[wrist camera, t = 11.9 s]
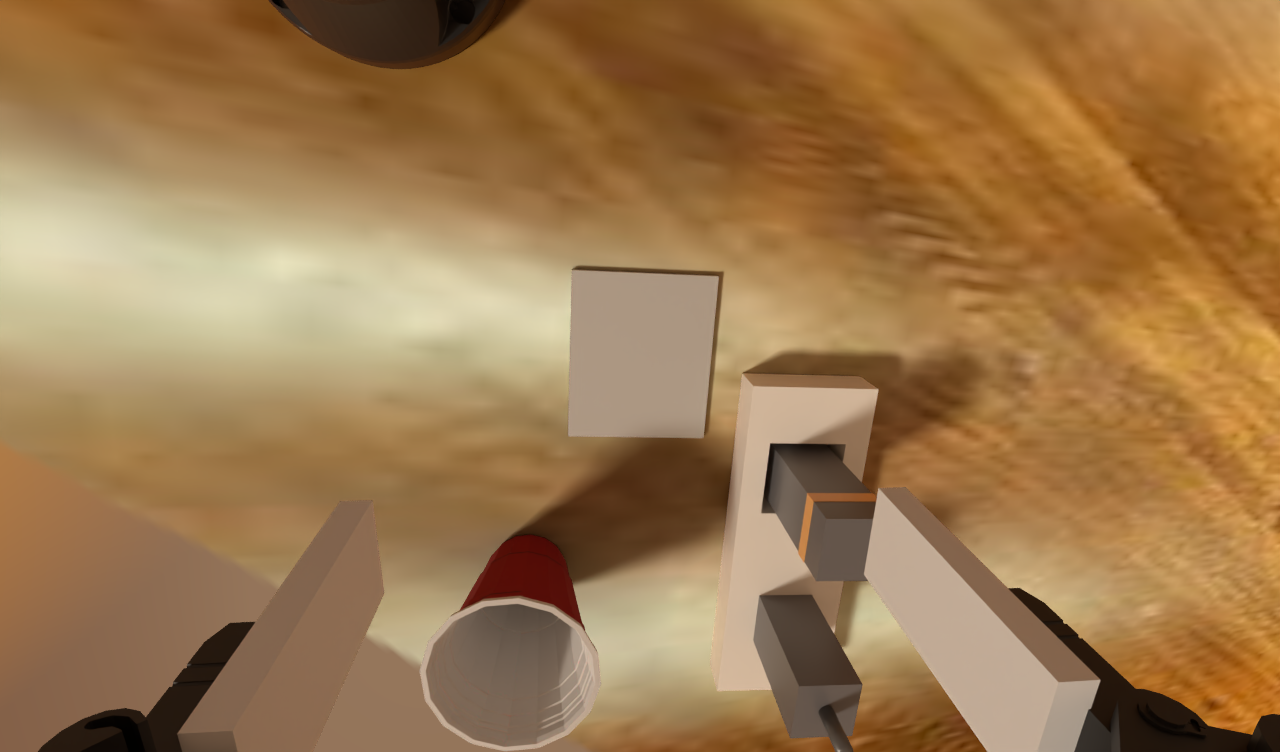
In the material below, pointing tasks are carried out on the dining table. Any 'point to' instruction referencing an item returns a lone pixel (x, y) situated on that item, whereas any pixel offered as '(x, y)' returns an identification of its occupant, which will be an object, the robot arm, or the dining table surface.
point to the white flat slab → (640, 353)
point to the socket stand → (787, 558)
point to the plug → (821, 509)
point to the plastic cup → (514, 653)
